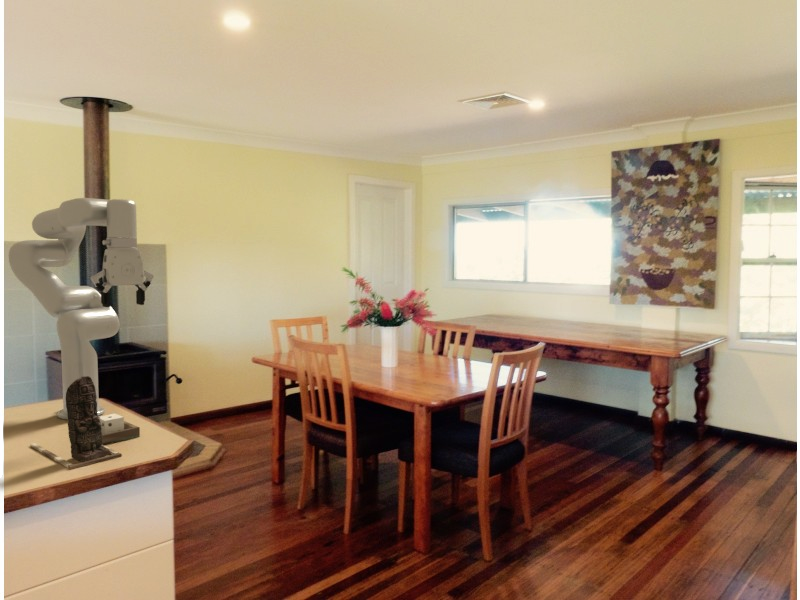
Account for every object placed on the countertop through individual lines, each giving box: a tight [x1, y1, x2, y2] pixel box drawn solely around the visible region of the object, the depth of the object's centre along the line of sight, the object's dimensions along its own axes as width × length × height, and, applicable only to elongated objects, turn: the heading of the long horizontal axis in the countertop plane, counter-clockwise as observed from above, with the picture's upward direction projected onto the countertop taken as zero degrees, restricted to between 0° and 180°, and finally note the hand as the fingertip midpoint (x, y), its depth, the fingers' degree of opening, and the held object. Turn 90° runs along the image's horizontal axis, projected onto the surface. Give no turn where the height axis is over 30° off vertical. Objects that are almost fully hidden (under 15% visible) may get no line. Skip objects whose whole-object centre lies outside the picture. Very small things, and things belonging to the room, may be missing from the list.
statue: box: [66, 376, 110, 462], centre depth 151 cm, size 7×7×20 cm
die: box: [99, 413, 125, 434], centre depth 166 cm, size 5×5×5 cm
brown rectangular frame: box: [29, 442, 123, 470], centre depth 155 cm, size 24×12×1 cm, turn 50°
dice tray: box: [102, 420, 141, 446], centre depth 167 cm, size 11×11×2 cm
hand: (123, 305), depth 174 cm, fingers open, 9 cm apart
